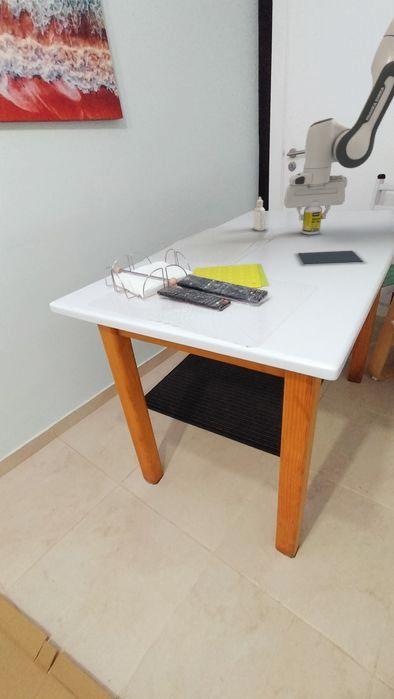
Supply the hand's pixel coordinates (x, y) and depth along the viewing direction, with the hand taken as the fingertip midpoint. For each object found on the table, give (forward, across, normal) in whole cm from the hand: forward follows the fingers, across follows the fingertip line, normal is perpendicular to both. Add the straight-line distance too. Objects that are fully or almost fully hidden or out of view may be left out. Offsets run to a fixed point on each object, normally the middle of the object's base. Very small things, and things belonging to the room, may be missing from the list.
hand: (312, 219), depth 122 cm
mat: (+5, 0, +29) cm, 29 cm away
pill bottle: (+5, 0, 0) cm, 5 cm away
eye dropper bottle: (+5, +18, -10) cm, 21 cm away
